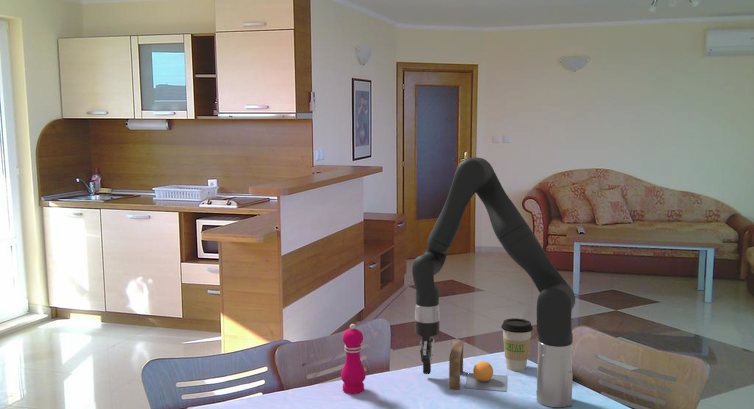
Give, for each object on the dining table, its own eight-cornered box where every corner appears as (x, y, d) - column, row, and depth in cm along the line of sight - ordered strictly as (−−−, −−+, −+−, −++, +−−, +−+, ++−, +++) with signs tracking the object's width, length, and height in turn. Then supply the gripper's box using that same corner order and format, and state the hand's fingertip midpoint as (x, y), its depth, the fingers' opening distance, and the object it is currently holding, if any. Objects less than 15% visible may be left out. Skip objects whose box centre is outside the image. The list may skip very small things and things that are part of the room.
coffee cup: (494, 365, 204) (495, 320, 203) (519, 360, 208) (519, 316, 207) (513, 375, 195) (514, 328, 194) (538, 370, 200) (539, 324, 198)
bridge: (463, 371, 199) (463, 341, 198) (459, 390, 184) (459, 358, 183) (453, 370, 200) (453, 340, 199) (449, 389, 185) (449, 357, 184)
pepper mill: (362, 396, 181) (362, 328, 178) (338, 394, 182) (337, 326, 180) (368, 386, 188) (367, 320, 185) (344, 384, 189) (343, 319, 187)
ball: (492, 377, 194) (494, 359, 193) (492, 386, 188) (493, 366, 187) (473, 375, 195) (474, 357, 194) (472, 383, 189) (473, 364, 188)
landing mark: (506, 376, 195) (506, 375, 195) (506, 391, 183) (506, 390, 183) (467, 373, 197) (467, 372, 197) (464, 388, 186) (464, 387, 186)
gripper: (437, 325, 185) (436, 382, 186) (441, 313, 197) (441, 366, 199) (411, 324, 186) (411, 380, 188) (418, 311, 199) (417, 364, 201)
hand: (426, 373), depth 194 cm, fingers closed
